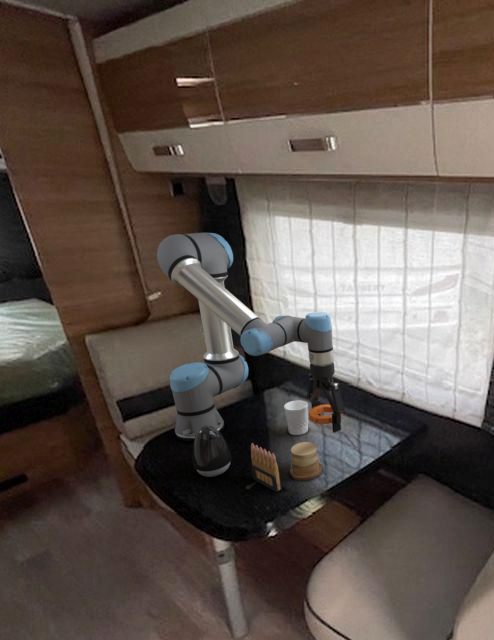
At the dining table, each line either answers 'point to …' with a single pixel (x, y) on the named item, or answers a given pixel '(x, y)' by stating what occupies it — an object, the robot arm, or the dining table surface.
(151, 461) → the dining table surface
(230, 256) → the robot arm
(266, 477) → the ammunition clip
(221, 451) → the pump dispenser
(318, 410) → the orange ring
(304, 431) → the white cup
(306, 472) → the stacking tower
